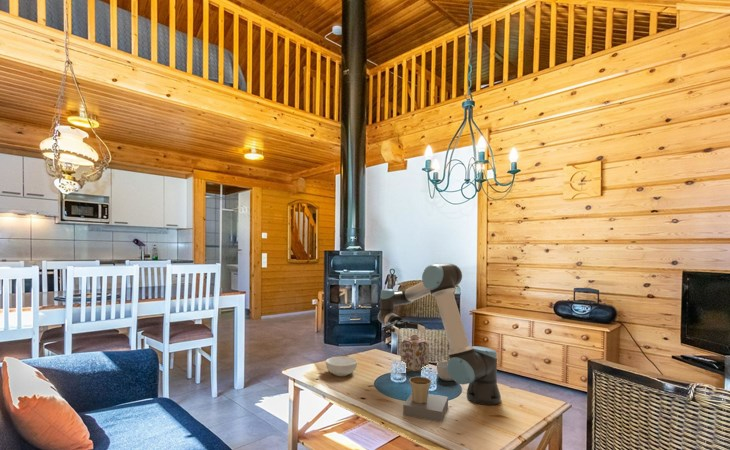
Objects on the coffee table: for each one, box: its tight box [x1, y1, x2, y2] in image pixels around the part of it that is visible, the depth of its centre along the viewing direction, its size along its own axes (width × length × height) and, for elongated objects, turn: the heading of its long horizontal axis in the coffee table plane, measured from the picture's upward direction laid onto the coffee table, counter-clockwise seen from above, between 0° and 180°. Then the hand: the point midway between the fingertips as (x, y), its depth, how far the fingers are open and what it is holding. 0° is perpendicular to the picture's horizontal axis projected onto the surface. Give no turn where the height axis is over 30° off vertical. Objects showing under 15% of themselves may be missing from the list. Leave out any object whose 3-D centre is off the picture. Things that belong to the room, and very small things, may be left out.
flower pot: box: [408, 376, 432, 404], centre depth 164 cm, size 9×9×9 cm
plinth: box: [402, 392, 449, 423], centre depth 164 cm, size 16×16×4 cm
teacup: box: [436, 359, 454, 382], centre depth 203 cm, size 14×11×8 cm
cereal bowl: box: [325, 355, 358, 377], centre depth 207 cm, size 17×17×7 cm
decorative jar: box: [400, 334, 430, 372], centre depth 220 cm, size 12×12×18 cm
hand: (411, 331), depth 180 cm, fingers open, 13 cm apart
